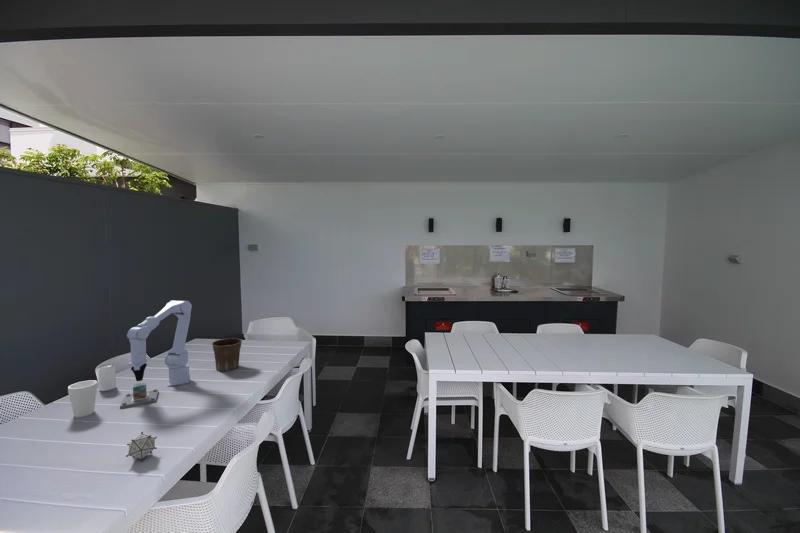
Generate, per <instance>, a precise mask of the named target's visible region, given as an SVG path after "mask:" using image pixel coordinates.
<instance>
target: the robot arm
mask: <svg viewBox="0 0 800 533" xmlns="http://www.w3.org/2000/svg"><path fill="white" fill-rule="evenodd" d="M192 308H193V305H192V303H191V302H190V301H189V300H174V299H172V300H170V301H169V302H167V303H165V306H164V307H163V308H162V309H160V311H159V312H157V313H156V314H155V315H153V316H148V317H146V318H145V319H144V320H143V321H142V322H141V323H139V324H137V325H136V326H134V327H131V328H130V329H129V330H128V331H127V334H126V337H127V339H128V340H129V343H130V360H131V361H130V362H128V363H127V365H128V366H129V365H130V366H131V367H130V370H131V371H132V373H133V374H134V377H135V380H136V382H141V381H143V380H144V375H145V370H146V368H147V366H148V363H147V362H148V360H147V341H146V340H147V339H148V337H149V335H150V334H151V332H152V331H153V330H155V328H157V327H158V326H159V325H160V322H161V321H163V320H164V319H165V318H167V317H168V316H170V315H171V314H173V315H175V316H176V317H177V318H178V320H177V323H176V329H175V333H174V338H173V343H172V348H170V349H169V350H168V351H167V353H166V356H165V357H164V364H165V366H167V368H168V383H167V387H172V386H179V385H183V384H189V383H190V379H191V375H190V364H188V361H189V351H188V350H187V349H186V348H185V346H186V342H187V336H188V332H189V326H190V321H191V312H192Z"/></svg>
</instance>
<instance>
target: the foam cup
mask: <svg viewBox="0 0 800 533" xmlns="http://www.w3.org/2000/svg"><path fill="white" fill-rule="evenodd" d="M98 387H99V384H98V380H95V379H93V380H92V379H89V380H83V381H78V382H75V383H73V384H70V385H68V387H67V394H68V395H69V401H70V404H71V407H72V408H71V409H72V412H73V416H74V417H75V418H81V417H82V418H83V417H86V416H90V415H92V414H93V413H94V412H95V407H96V406H95V405H96V399H97V391H98Z"/></svg>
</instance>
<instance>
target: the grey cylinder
mask: <svg viewBox="0 0 800 533" xmlns="http://www.w3.org/2000/svg"><path fill="white" fill-rule="evenodd" d="M116 374H117V373H116V366H115V364H114V363H110V364H109V363H108V364H104V365H100V366H99V368H98V387H99V388H98V389H99V392H108V390H109V391H113V390H115V389H116V388H117V378H116Z"/></svg>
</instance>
